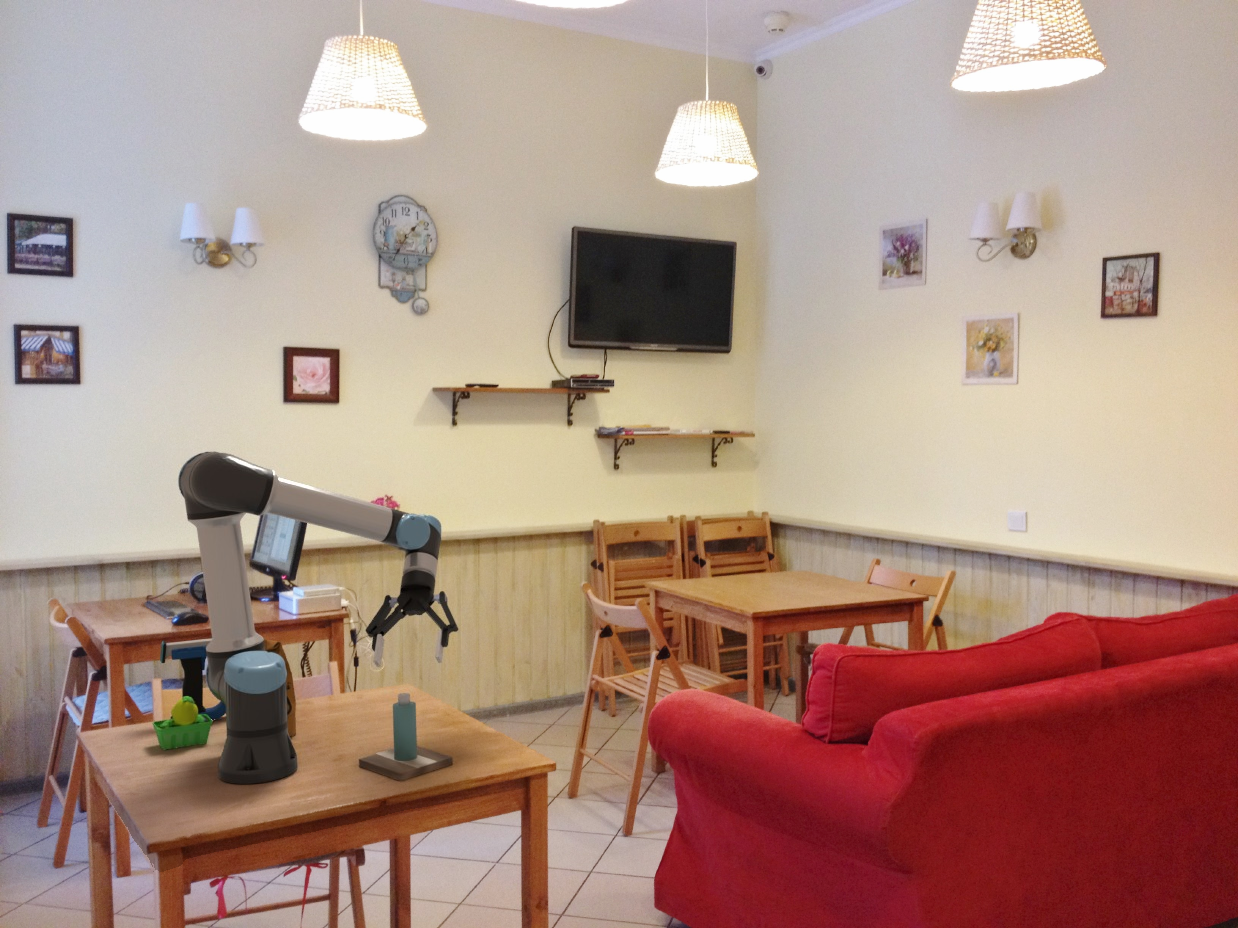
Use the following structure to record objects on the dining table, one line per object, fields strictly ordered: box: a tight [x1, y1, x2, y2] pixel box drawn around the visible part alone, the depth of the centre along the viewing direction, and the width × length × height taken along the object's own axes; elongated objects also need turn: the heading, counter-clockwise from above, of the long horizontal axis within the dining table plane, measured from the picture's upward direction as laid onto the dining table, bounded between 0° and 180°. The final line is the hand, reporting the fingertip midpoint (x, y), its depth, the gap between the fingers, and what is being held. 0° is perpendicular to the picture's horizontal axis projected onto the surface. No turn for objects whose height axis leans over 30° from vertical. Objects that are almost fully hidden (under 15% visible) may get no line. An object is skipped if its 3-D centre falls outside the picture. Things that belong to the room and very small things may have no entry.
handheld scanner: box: [159, 637, 226, 720], centre depth 251 cm, size 5×16×20 cm, turn 115°
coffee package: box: [264, 639, 297, 737], centre depth 238 cm, size 10×12×22 cm
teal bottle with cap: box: [392, 692, 418, 761], centre depth 216 cm, size 5×5×13 cm
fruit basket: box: [152, 696, 214, 751], centre depth 232 cm, size 11×9×11 cm
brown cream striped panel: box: [358, 745, 454, 782], centre depth 216 cm, size 13×14×2 cm
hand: (407, 662), depth 226 cm, fingers open, 13 cm apart
